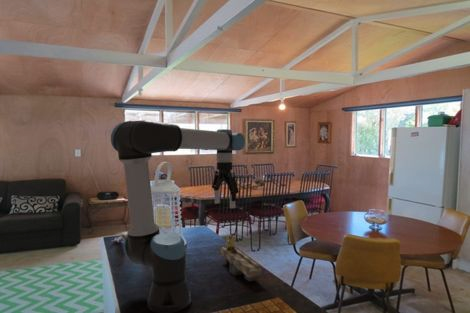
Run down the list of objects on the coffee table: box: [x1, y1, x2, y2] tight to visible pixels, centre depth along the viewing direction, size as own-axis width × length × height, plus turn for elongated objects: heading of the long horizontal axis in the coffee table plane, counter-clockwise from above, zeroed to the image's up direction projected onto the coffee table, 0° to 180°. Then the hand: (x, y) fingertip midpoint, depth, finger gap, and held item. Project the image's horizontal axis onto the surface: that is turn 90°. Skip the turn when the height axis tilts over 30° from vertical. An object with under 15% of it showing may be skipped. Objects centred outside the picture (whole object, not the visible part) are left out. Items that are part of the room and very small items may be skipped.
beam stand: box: [219, 246, 262, 282], centre depth 140 cm, size 28×7×7 cm, turn 25°
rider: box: [225, 234, 236, 252], centre depth 147 cm, size 4×4×7 cm
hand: (224, 205), depth 156 cm, fingers open, 13 cm apart
